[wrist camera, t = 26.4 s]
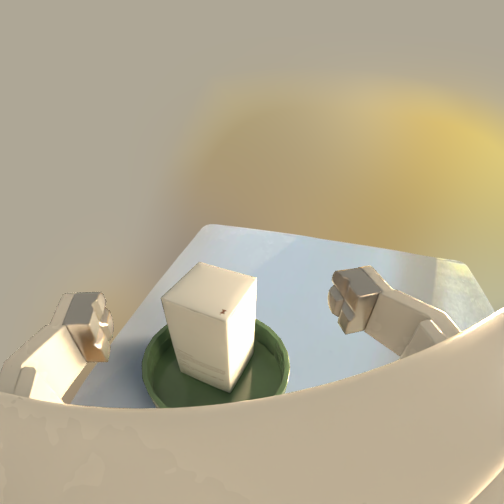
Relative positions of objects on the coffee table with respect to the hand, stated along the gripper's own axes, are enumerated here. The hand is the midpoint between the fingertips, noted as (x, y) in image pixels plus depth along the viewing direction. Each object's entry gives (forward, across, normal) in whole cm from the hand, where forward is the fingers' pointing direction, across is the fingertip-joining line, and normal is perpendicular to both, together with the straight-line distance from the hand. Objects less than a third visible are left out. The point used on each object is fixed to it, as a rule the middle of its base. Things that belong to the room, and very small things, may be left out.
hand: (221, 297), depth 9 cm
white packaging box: (+14, 0, +24) cm, 28 cm away
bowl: (+12, 0, +24) cm, 27 cm away
